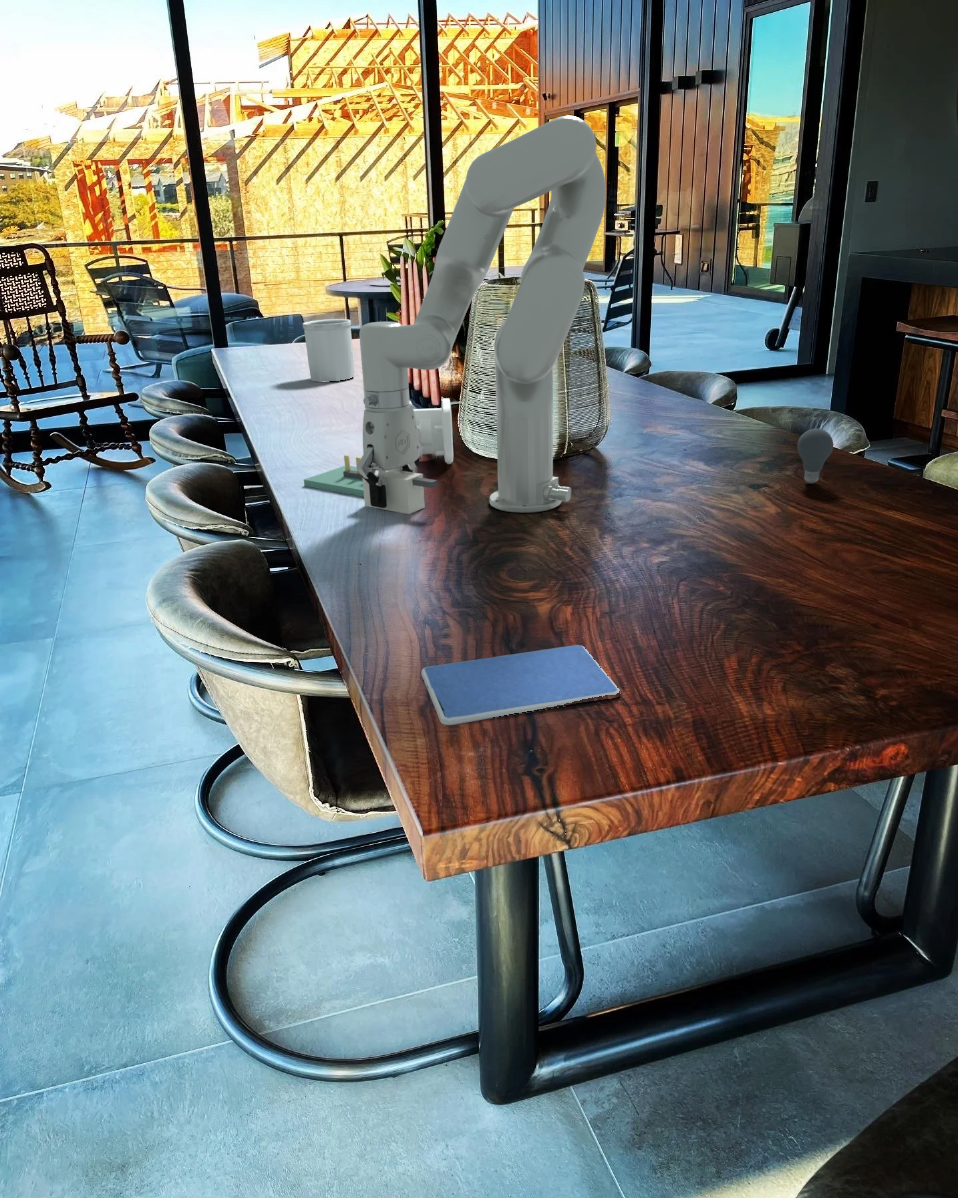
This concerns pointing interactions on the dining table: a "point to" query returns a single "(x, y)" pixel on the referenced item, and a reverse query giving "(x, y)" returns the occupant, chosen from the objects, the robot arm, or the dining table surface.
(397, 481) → the plug housing
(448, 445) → the cable organizer
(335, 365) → the utensil holder
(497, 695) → the tablet computer
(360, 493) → the header board
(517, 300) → the robot arm
